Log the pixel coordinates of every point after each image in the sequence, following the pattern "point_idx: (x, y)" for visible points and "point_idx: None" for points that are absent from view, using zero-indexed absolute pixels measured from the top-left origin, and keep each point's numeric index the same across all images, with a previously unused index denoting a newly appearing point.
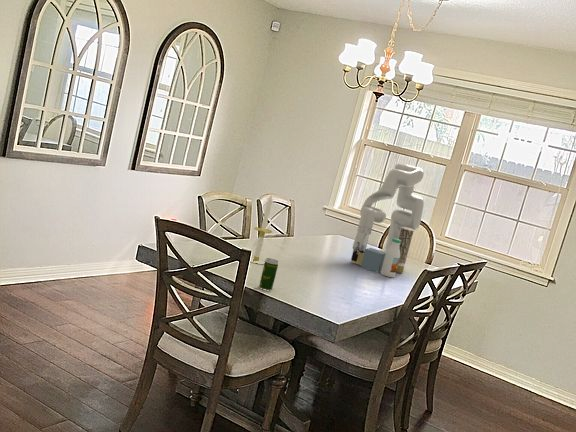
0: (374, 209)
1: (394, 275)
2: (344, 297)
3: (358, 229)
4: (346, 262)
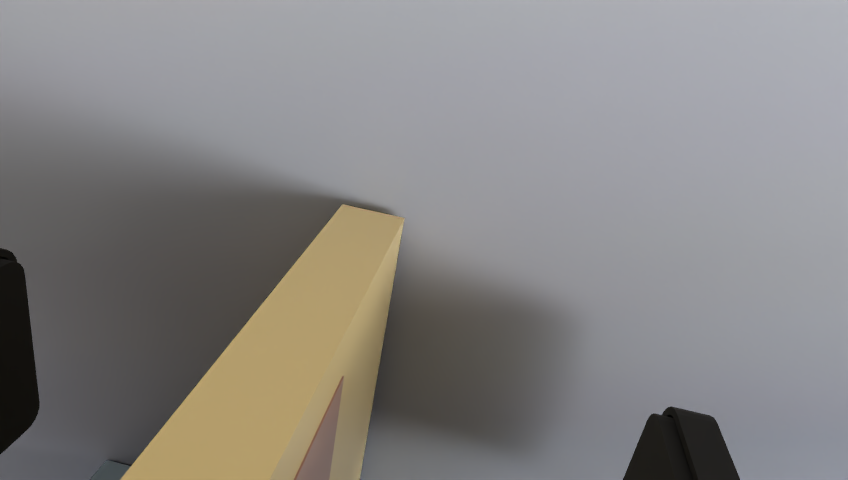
0: None
1: None
2: None
3: None
4: (74, 64)
